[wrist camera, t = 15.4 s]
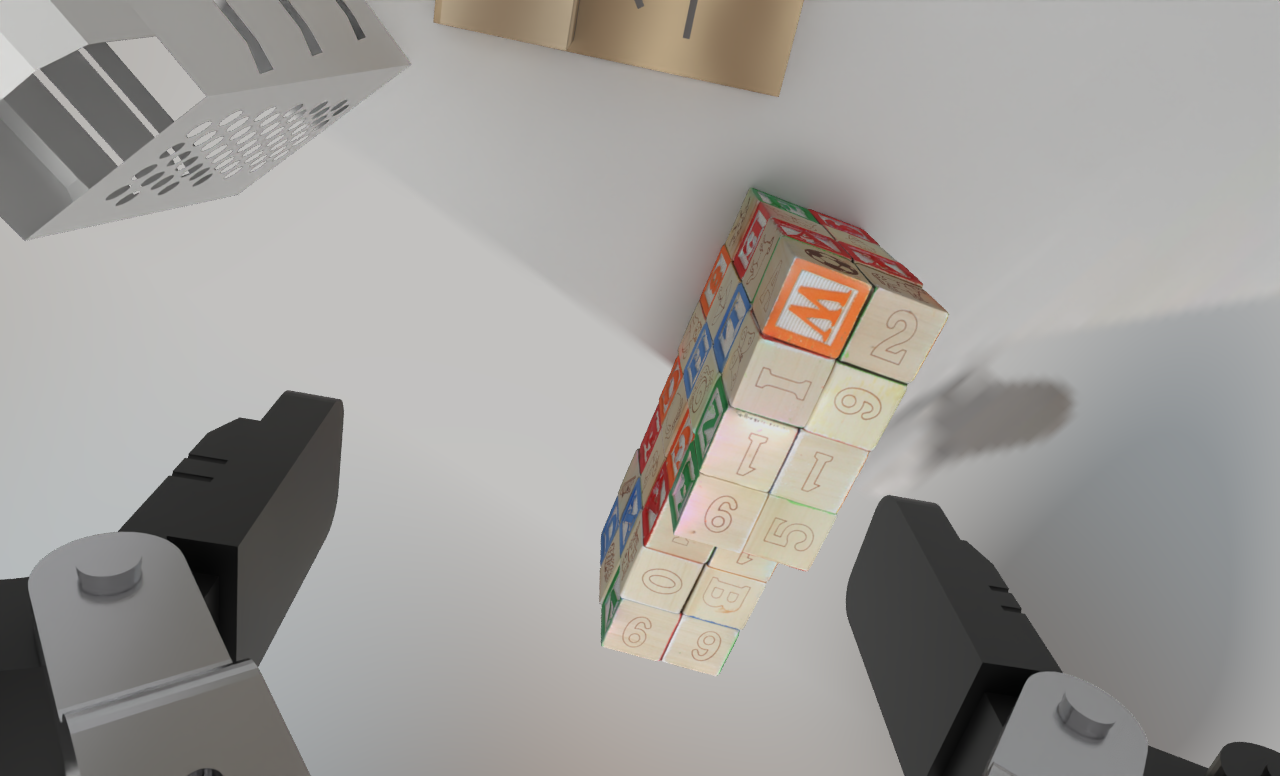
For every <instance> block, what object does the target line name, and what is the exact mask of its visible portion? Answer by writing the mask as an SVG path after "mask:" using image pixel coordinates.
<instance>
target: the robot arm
mask: <svg viewBox="0 0 1280 776" xmlns="http://www.w3.org/2000/svg"><path fill="white" fill-rule="evenodd" d="M343 417H344V409H343V402H342V400H340V399H335V398H329V397H323V396H318V395H312V394H307V393H301V392H295V391H285V392H284V393H283V394H282V395H281V396H280V398H279V399H278V400H277V401H276V403H275V404H274V405H273V406H272V407H271V409H270V410H269V411H268V413H267V414H266V415H265V416H264V417H263V418H262V420H261V421H258V420H252V419H246V418H238V419H236V420H234V421H232V422H230V423H227V424H225V425H223V426H221V427H219V428H217V429H215V430H213V431H211V432H209V433H207V434H206V435H205V437H204V438H203V439H202V440H201V441H200V442H199V443H198V444H197V445H196V446H195V448H194V449H193V450H192V451H191V452H190V453H189V456H188V458H184V460H183V461H182V462H181V463H180V464H179V465H178V466H177V467H176V468H175V469H174V471H173V474H172V476H168V477H167V478H166V479H165V480H164V482H163V483H162V484H161V485H160V486H159V487H158V488H157V489H156V490H155V491H154V493H153V494H152V495H151V496H150V497H149V498H148V499H147V500H146V501H145V502H144V503H143V504H142V506H141V507H140V508H139V509H138V510H137V511H136V512H135V513H134V514H133V516H132V517H131V518H130V519H129V520H128V521H127V522H126V523H125V524H124V525H123V526H122V528H121V529H120V530H119V531H118V532H113V533H104V534H97V535H93V536H89V537H85V538H81V539H79V540H75V541H72V542H70V543H68V544H66V545H63V546H61V547H59V548H57V549H56V550H54V551H52V552H51V553H49V554H48V555H47V556H45V557H44V558H43V559H42V560H41V561H40V562H39V563H38V564H37V565H36V566H35V567H34V569H33V570H32V572H31V574H30V577H25V578H16V579H5V580H0V776H311V775H310V773H309V771H308V769H307V767H306V765H305V763H304V761H303V759H302V757H301V755H300V753H299V750H298V748H297V746H296V744H295V742H294V740H293V738H292V736H291V734H290V732H289V730H288V728H287V726H286V724H285V722H284V719H283V718H282V715H281V713H280V711H279V709H278V707H277V705H276V703H275V701H274V699H273V697H272V695H271V693H270V691H269V688H268V686H267V684H266V682H265V680H264V678H263V676H262V674H261V672H260V670H259V668H258V666H259V664H260V662H261V661H262V659H263V657H264V655H265V653H266V651H267V649H268V647H269V645H270V643H271V642H272V640H273V638H274V636H275V634H276V632H277V630H278V628H279V626H280V625H281V623H282V621H283V619H284V617H285V615H286V613H287V611H288V609H289V607H290V605H291V603H292V602H293V600H294V598H295V596H296V594H297V592H298V590H299V588H300V587H301V585H302V583H303V580H304V579H305V577H306V575H307V573H308V571H309V569H310V568H311V565H312V564H313V562H314V560H315V558H316V556H317V554H318V552H319V550H320V549H321V546H322V545H323V543H324V541H325V539H326V537H327V535H328V532H329V530H330V527H331V524H332V521H333V517H334V513H335V509H336V504H337V497H338V488H339V474H340V460H341V446H342V432H343ZM1008 589H1009V588H1008V587H1007V585H1006V584H1005V582H1004V581H1003V579H1002V578H1001V576H1000V574H999V573H998V571H997V570H996V568H995V567H994V565H993V564H992V563H991V562H990V561H989V560H987V559H986V558H985V557H984V556H983V555H982V554H981V553H979V552H978V551H977V550H976V549H975V548H974V547H973V546H972V545H970V544H969V543H968V542H967V541H964V540H960V538H959V537H958V535H957V534H956V532H955V530H954V529H953V527H952V525H951V524H950V522H949V520H948V519H947V517H946V516H945V514H944V512H943V511H942V509H941V508H940V506H938V505H937V504H936V503H931V502H926V501H920V500H914V499H908V498H902V497H897V496H891V495H887V496H885V497H884V498H882V500H881V501H880V502H879V504H878V506H877V508H876V510H875V513H874V515H873V518H872V520H871V523H870V526H869V528H868V531H867V534H866V536H865V539H864V541H863V544H862V546H861V549H860V552H859V554H858V557H857V560H856V562H855V564H854V567H853V570H852V573H851V575H850V578H849V582H848V586H847V593H846V611H847V617H848V620H849V623H850V626H851V628H852V631H853V634H854V637H855V640H856V642H857V645H858V648H859V651H860V654H861V656H862V659H863V662H864V665H865V667H866V670H867V673H868V676H869V679H870V681H871V684H872V687H873V690H874V692H875V695H876V698H877V701H878V703H879V706H880V709H881V712H882V715H883V717H884V720H885V723H886V726H887V728H888V731H889V734H890V737H891V739H892V742H893V745H894V748H895V751H896V753H897V756H898V759H899V762H900V764H901V767H902V770H903V773H904V775H905V776H1280V753H1278V752H1276V751H1274V750H1272V749H1269V748H1266V747H1263V746H1260V745H1256V744H1252V743H1246V742H1233V743H1230V744H1227V745H1226V746H1224V747H1223V748H1222V750H1221V751H1220V753H1219V754H1218V756H1217V757H1216V759H1215V760H1214V762H1213V763H1212V765H1211V766H1210V767H1209V768H1206V767H1203V766H1200V765H1198V764H1195V763H1193V762H1190V761H1187V760H1185V759H1182V758H1180V757H1177V756H1174V755H1172V754H1168V753H1166V752H1164V751H1161V750H1159V749H1156V748H1153V747H1151V746H1148V742H1147V738H1146V735H1145V733H1144V731H1143V729H1142V727H1141V726H1140V724H1139V723H1138V721H1137V720H1136V719H1135V718H1134V716H1133V715H1132V714H1131V713H1130V712H1129V711H1128V710H1127V709H1126V708H1125V707H1124V706H1123V705H1122V704H1121V703H1119V702H1118V701H1117V700H1116V699H1115V698H1113V697H1112V696H1110V695H1109V694H1108V693H1106V692H1105V691H1103V690H1101V689H1100V688H1098V687H1096V686H1095V685H1092V684H1091V683H1089V682H1087V681H1084V680H1082V679H1079V678H1077V677H1074V676H1071V675H1068V674H1064V673H1062V671H1061V669H1060V668H1059V666H1058V664H1057V663H1056V661H1055V660H1054V658H1053V657H1052V655H1051V654H1050V652H1049V650H1048V649H1047V647H1046V646H1045V644H1044V643H1043V641H1042V640H1041V638H1040V637H1039V635H1038V633H1037V632H1036V631H1035V629H1034V627H1033V626H1032V624H1031V623H1030V621H1029V619H1028V618H1027V616H1026V615H1025V614H1022V613H1021V607H1020V605H1019V604H1018V602H1017V601H1016V599H1015V598H1014V596H1013V595H1012V594H1011V593H1008Z"/></svg>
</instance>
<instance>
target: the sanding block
mask: <svg viewBox="0 0 1280 776" xmlns="http://www.w3.org/2000/svg"><path fill="white" fill-rule="evenodd" d="M579 4H580V0H442V8H441V18H440V24H445V25H449V26H454V27H459V28H463V29H468V30H472V31H477V32H482V33H486V34H491V35H495V36H500V37H505V38H509V39H514V40H518V41H523V42H528V43H532V44H537V45H542V46H546V47H551V48H555V49H560V50H565V51H566V50H567V48H568V47H569V46H570V45H571V43H572V42H573V41H574V35H575V29H576V23H577V17H578V10H579Z"/></svg>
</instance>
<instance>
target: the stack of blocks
mask: <svg viewBox="0 0 1280 776" xmlns="http://www.w3.org/2000/svg"><path fill="white" fill-rule="evenodd" d="M922 287H923V284H922V282H920V281H919V280H918V278H917V277H915V276H914V275H913V274H912V273H911V272H909V270H908V269H907V268H905V267H904V266H903V265H902V264H901V263H899V262H897V261H896V260H895V259H894V258H893V257H891V256H890V255H889V254H888V253H887V252H886V251H885V250H884V249H882V248H881V247H880V245H879V244H878V243H877V242H876V241H875V240H874V239H873V238H872V237H871V236H870V235H869V234H868V233H867V232H866V231H864V230H863V229H861V228H858V227H855V226H853V225H850V224H848V223H845V222H843V221H840V220H837V219H835V218H832V217H829V216H827V215H824V214H821V213H819V212H816V211H814V210H811V209H805V208H803V207H800V206H798V205H795V204H792V203H790V202H787V201H785V200H782V199H780V198H777V197H775V196H772V195H769V194H767V193H764V192H761V191H759V190H757V189H754V188H750V189H749V190H748V193H747V195H746V197H745V199H744V202H743V204H742V206H741V209H740V211H739V213H738V216H737V218H736V220H735V222H734V225H733V227H732V229H731V232H730V234H729V236H728V238H727V241H726V243H725V244H724V245H723V246H722V248H721V251H720V253H719V255H718V258H717V260H716V262H715V264H714V267H713V269H712V271H711V274H710V276H709V279H708V281H707V283H706V286H705V288H704V290H703V292H702V295H701V298H700V300H699V302H698V304H697V306H696V309H695V311H694V313H693V315H692V317H691V320H690V322H689V324H688V327H687V329H686V332H685V334H684V336H683V339H682V341H681V343H680V346H679V348H678V357H677V358H676V360H675V363H674V365H673V368H672V371H671V373H670V375H669V377H668V379H667V382H666V385H665V387H664V389H663V391H662V394H661V396H660V398H659V404H658V406H657V408H656V411H655V413H654V415H653V417H652V420H651V422H650V424H649V427H648V429H647V432H646V434H645V436H644V439H643V441H642V443H641V446H640V449H637V450H636V452H635V454H634V457H633V459H632V461H631V464H630V466H629V468H628V470H627V473H626V475H625V477H624V480H623V482H622V485H621V487H620V490H619V492H618V496H617V498H616V501H615V503H614V505H613V508H612V509H611V512H610V515H609V517H608V519H607V522H606V524H605V526H604V529H603V531H602V534H601V560H600V564H601V568H600V588H599V589H600V595H599V602H600V604H601V605H602V610H601V613H602V614H601V646H603V647H606V648H609V649H613V650H617V651H621V652H624V653H628V654H632V655H635V656H639V657H643V658H646V659H650V660H653V661H660V660H661V661H663V662H665V663H669V664H673V665H676V666H680V667H683V668H687V669H691V670H695V671H698V672H702V673H706V674H710V675H714V676H717V675H718V674H719V673H720V672H721V669H722V667H723V665H724V663H725V661H726V660H727V658H728V656H729V654H730V652H731V650H732V648H733V646H734V644H735V642H736V640H737V638H738V636H739V632H740V630H742V629H743V628H744V627H745V625H746V623H747V621H748V619H749V617H750V615H751V613H752V611H753V610H754V608H755V606H756V604H757V602H758V599H759V598H760V596H761V594H762V592H763V590H764V588H765V586H766V583H767V581H768V580H769V579H770V577H771V576H772V574H773V572H774V570H775V568H776V566H777V564H778V563H781V564H784V565H787V566H790V567H793V568H796V569H799V570H802V571H808V570H809V569H810V567H811V565H812V563H813V561H814V559H815V558H816V556H817V554H818V552H819V550H820V548H821V546H822V544H823V542H824V540H825V538H826V537H827V535H828V533H829V531H830V529H831V527H832V526H833V524H834V522H835V520H836V518H837V512H838V510H839V509H840V507H841V506H842V504H843V502H844V501H845V499H846V497H847V495H848V493H849V491H850V489H851V487H852V485H853V483H854V481H855V479H856V478H857V476H858V474H859V472H860V471H861V469H862V467H863V465H864V463H865V461H866V459H867V456H868V454H869V452H870V451H872V450H874V448H875V446H876V445H877V443H878V441H879V439H880V437H881V436H882V434H883V432H884V430H885V428H886V427H887V425H888V423H889V421H890V419H891V418H892V416H893V414H894V412H895V410H896V408H897V406H898V405H899V403H900V401H901V399H902V397H903V395H904V394H905V392H906V389H907V384H909V383H910V382H912V381H913V380H914V378H915V376H916V374H917V373H918V371H919V369H920V367H921V366H922V364H923V362H924V360H925V359H926V357H927V355H928V353H929V351H930V350H931V348H932V346H933V344H934V343H935V341H936V339H937V337H938V336H939V334H940V332H941V330H942V328H943V327H944V325H945V323H946V321H947V318H948V315H949V314H948V312H947V311H946V310H945V309H944V308H943V307H942V306H941V305H940V304H939V303H938V302H936V301H935V300H934V299H933V298H932V297H931V296H930V295H929V294H928V293H927V292H926V291H924V290H923V289H922Z"/></svg>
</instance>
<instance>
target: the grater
mask: <svg viewBox="0 0 1280 776" xmlns="http://www.w3.org/2000/svg"><path fill="white" fill-rule="evenodd" d="M288 1H289V2H290V3H291V5H292V6H293V7H294V9H295V10H296V11H297V12H298V14H299V15H300V16H301V18H302V19H303V20H304V22H305V23H306V24H307V26H308V27H309V29H310V30H311V32H312V34H313V36H314V38H315V39H316V41H317V43H318V45H319V47H320V48H321V50H322V53H319V54H316V55H314V56H312V54H311V52H310V50H309V47H308V45H307V43H306V40H305V38H304V36H303V33H302V31H301V29H300V27H299V26H298V25H297V24H296V22H295V21H294V20H293V18H292V17H291V16H290V14H289V13H288V12H287V10H286V9H285V8H284V7H283V5H282V4H281V3H280V1H279V0H226V2H227V3H228V4H229V5H230V7H231V8H232V9H233V10H234V12H235V13H236V14H237V15H238V17H239V18H240V19H241V20H242V22H243V23H244V24H245V26H246V27H247V28H248V29H249V31H250V32H251V33H252V34H253V36H254V37H255V38H256V39H257V41H258V43H259V44H260V46H261V48H262V50H263V51H264V53H265V55H266V57H267V59H268V60H269V62H270V64H271V66H272V68H273V70H270V71H267V72H264V73H261V74H260V73H259V70H258V68H257V66H256V63H255V61H254V58H253V56H252V53H251V51H250V48H249V46H248V44H247V42H246V41H245V40H244V38H243V37H242V36H241V35H240V33H239V32H238V31H237V30H236V28H235V27H234V26H233V25H232V23H231V22H230V21H229V20H228V18H227V17H226V16H225V15H224V13H223V12H222V11H221V10H220V8H219V7H218V6H217V5H216V3H215V2H214V1H213V0H0V217H1V218H2V219H3V220H4V221H5V222H6V223H7V224H9V226H10V227H11V228H12V229H13V230H14V231H15V232H16V233H17V234H18V235H19V236H20V237H22V239H23V240H24V241H26V240H30V239H35V238H39V237H44V236H49V235H54V234H58V233H63V232H68V231H72V230H77V229H81V228H86V227H91V226H95V225H100V224H105V223H109V222H114V221H119V220H123V219H128V218H132V217H137V216H142V215H146V214H151V213H156V212H160V211H165V210H170V209H174V208H179V207H183V206H188V205H193V204H198V203H202V202H207V201H212V200H216V199H220V198H225V197H230V196H235V195H238V194H239V193H241V192H242V191H243V190H245V189H246V188H247V187H249V186H250V185H251V184H253V183H254V182H255V181H257V180H258V179H259V178H261V177H262V176H263V175H265V174H266V173H267V172H269V171H270V170H271V169H273V168H274V167H275V166H276V165H278V164H279V163H281V162H282V161H283V160H285V159H286V158H287V157H289V156H290V155H291V154H293V153H294V152H295V151H297V150H298V149H299V148H301V147H302V146H303V145H305V144H306V143H307V142H309V141H310V140H311V139H313V138H314V137H315V136H317V135H318V134H319V133H321V132H322V131H323V130H325V129H326V128H327V127H329V126H330V125H331V124H333V123H334V122H335V121H337V120H338V119H339V118H341V117H342V116H343V115H345V114H346V113H347V112H349V111H350V110H351V109H353V108H354V107H355V106H357V105H358V104H359V103H361V102H362V101H363V100H365V99H366V98H367V97H369V96H370V95H371V94H373V93H374V92H375V91H377V90H378V89H379V88H381V87H382V86H383V85H385V84H386V83H387V82H389V81H390V80H391V79H393V78H394V77H395V76H397V75H398V74H399V73H401V72H402V71H403V70H405V69H406V68H407V67H409V66H410V65H411V63H410V61H409V60H408V59H407V57H406V56H405V54H404V53H403V52H402V50H401V49H400V48H399V46H398V45H397V43H396V42H395V41H394V39H393V38H392V37H391V35H390V34H389V32H388V31H387V30H386V28H385V27H384V26H383V24H382V23H381V21H380V20H379V19H378V17H377V16H376V14H375V13H374V12H373V10H372V9H371V8H370V6H369V5H368V3H367V2H366V1H365V0H343V1H344V3H345V4H346V5H347V7H348V8H349V9H350V11H351V12H352V14H353V15H354V17H355V18H356V20H357V22H358V24H359V26H360V27H361V29H362V31H363V33H364V35H365V36H366V38H363V39H360V40H358V39H357V37H356V35H355V33H354V30H353V28H352V26H351V24H350V21H349V19H348V17H347V15H346V14H345V13H344V11H343V10H342V9H341V7H340V6H339V4H338V3H337V2H336V0H288ZM153 36H156V37H157V38H158V39H159V40H160V41H161V43H162V44H163V45H164V46H165V47H166V48H167V49H168V51H169V52H170V53H171V54H172V56H173V57H174V58H175V59H176V60H177V62H178V63H179V64H180V65H181V66H182V67H183V69H184V70H185V71H186V72H187V74H188V75H189V76H190V77H191V78H192V79H193V81H194V82H195V83H196V84H197V85H198V87H199V88H200V89H201V90H202V91H203V93H204V94H205V95H206V96H207V97H205V98H204V99H203V100H202V101H200V102H199V103H198V104H197V105H195V106H194V107H193V108H191V109H190V110H189V111H188V112H186V113H185V114H184V115H183V116H181V117H180V118H179V119H178V120H176V121H175V122H174V121H173V120H172V118H171V117H170V116H169V115H168V114H167V113H166V112H165V111H164V109H162V107H161V106H160V105H159V103H158V102H157V101H156V100H155V99H154V98H153V97H152V96H151V94H150V93H149V92H148V91H147V90H146V88H144V86H143V85H142V84H141V83H140V81H139V80H138V79H137V78H136V77H135V76H134V75H133V73H132V72H131V71H130V70H129V69H128V68H127V66H126V65H125V64H124V63H123V62H122V61H121V60H120V58H119V57H118V56H117V55H116V54H115V53H114V51H113V50H112V49H111V48H110V47H109V46H108V44H107V43H106V42H111V41H120V40H127V39H137V38H145V37H153ZM82 47H83V48H84V49H86V50H87V51H88V53H89V54H90V55H91V56H92V57H93V58H94V59H95V61H96V62H97V63H98V64H99V65H100V66H101V67H102V69H103V70H104V71H105V72H106V73H107V74H108V75H109V77H110V78H111V79H112V80H113V81H114V82H115V83H116V84H117V85H118V87H119V88H120V89H121V90H122V91H123V92H124V94H125V95H126V96H127V97H128V98H129V99H130V101H131V102H132V103H133V104H134V105H135V106H136V107H137V108H138V110H139V111H140V112H141V113H142V114H143V115H144V116H145V118H146V119H147V120H148V121H149V122H150V123H151V124H152V126H153V127H154V128H155V129H156V130H157V131H158V132H159V135H157V136H156V137H154V136H153V135H152V134H151V133H150V132H149V130H148V129H147V128H146V127H145V126H144V125H143V124H142V122H141V121H140V120H139V119H138V118H137V117H136V116H135V114H134V113H133V112H132V111H131V110H130V109H129V108H128V107H127V105H126V104H125V103H124V102H123V101H122V100H121V99H120V98H119V96H118V95H117V94H116V93H115V92H114V91H113V90H112V88H111V87H110V86H109V85H108V84H107V83H106V82H105V81H104V79H103V78H102V77H101V76H100V75H99V74H98V73H97V71H96V70H95V69H94V68H93V67H92V66H91V65H90V64H89V62H88V61H87V60H86V59H85V58H84V57H83V56H82V54H81V53H80V52H79V51H78V50H79V49H80V48H82ZM38 69H41V71H42V72H43V73H44V74H45V75H46V76H47V77H48V78H49V79H50V81H51V82H52V83H53V84H54V85H55V86H56V87H57V88H58V89H59V90H60V91H61V93H62V94H63V95H64V96H65V97H66V98H67V99H68V100H69V101H70V103H71V104H72V105H73V106H74V107H75V108H76V109H77V110H78V111H79V112H80V114H81V115H82V116H83V117H84V118H85V119H86V120H87V121H88V122H89V123H90V124H91V126H92V127H93V128H94V129H95V130H96V131H97V132H98V133H99V134H100V136H101V137H102V138H103V139H104V140H105V141H106V142H107V143H108V144H109V145H110V146H111V148H112V149H113V150H114V151H115V152H116V153H117V154H118V155H119V157H120V158H121V159H122V160H123V161H124V162H123V163H122V164H121V165H120V166H117V165H116V164H115V163H114V162H113V160H112V159H111V158H110V157H109V156H108V155H107V154H106V153H105V152H104V151H103V150H102V148H101V147H100V146H99V145H98V144H97V143H96V142H95V141H94V140H93V139H92V137H90V135H89V134H88V133H87V132H86V131H85V130H84V129H83V128H82V127H81V125H80V124H79V123H78V122H77V121H76V120H75V119H74V118H73V117H72V115H71V114H70V113H69V112H68V111H67V110H66V109H65V108H64V107H63V106H62V105H61V103H60V102H59V101H58V100H57V99H56V98H55V97H54V96H53V95H52V94H51V93H50V91H49V90H48V89H47V88H46V87H45V86H44V85H43V84H42V83H41V82H40V80H39V79H38V78H37V77H36V76H35V75H34V74H33V72H34V71H36V70H38ZM344 100H347V102H346V103H345V104H343V105H342V106H341V107H339V108H337V109H336V110H334V111H331V109H332V108H333V107H335V106H336V105H337V104H339V103H340V102H342V101H344ZM324 102H328V103H327V104H326V105H325V106H324V107H323V108H321V109H320V110H318V111H316V112H315V113H312V114H309V113H310V112H311V111H312V110H313V109H314V108H316V107H317V106H318V105H320V104H322V103H324ZM300 104H303V106H302V107H301V108H300V109H299V110H298V111H296V112H295V113H293V114H292V115H290V116H288V117H285V118H284V117H283V116H284V115H285V114H286V113H287V112H288V111H290V110H291V109H292V108H294V107H296V106H298V105H300ZM346 105H349V106H348V107H347V108H346V109H345V110H343V111H342V112H341V113H339V114H337V115H335V116H332V115H333V114H334V113H335V112H336V111H338V110H339V109H341V108H342V107H344V106H346ZM272 107H276V109H275V110H274V111H273V112H272V113H271V114H270V115H268V116H266V117H265V118H263V119H261V120H259V121H256V122H255V121H254V120H255V118H256V117H257V116H259V115H260V114H261V113H263V112H264V111H266V110H268V109H270V108H272ZM327 107H330V108H329V110H327V111H326V112H325V113H324V114H322V115H321V116H319V117H317V118H315V119H312V118H313V117H314V116H315V115H316V114H317V113H319V112H320V111H321V110H323V109H325V108H327ZM240 110H242V111H243V112H242V114H241V115H240V116H239V117H237V118H236V119H234V120H233V121H232V122H230V123H228V124H226V125H223V126H219V124H220V122H221V121H222V120H224V119H225V118H226V117H227V116H229V115H231V114H233V113H235V112H237V111H240ZM303 110H306V112H305V113H304V114H303V115H302V116H300V117H299V118H297V119H296V120H294V121H292V122H289V123H287V121H288V120H289V119H290V118H291V117H293V116H294V115H296V114H297V113H299V112H301V111H303ZM277 113H281V114H280V115H279V116H278V117H277V118H276V119H275V120H273V121H272V122H271V123H269V124H267V125H265V126H262V127H259V126H260V124H261V123H262V122H264V121H265V120H266V119H268V118H269V117H271V116H273V115H274V114H277ZM325 115H327V117H326V118H325V119H323V120H322V121H321V122H319V123H318V124H316V125H314V126H312V127H310V125H311V124H312V123H313V122H315V121H316V120H317V119H319V118H321V117H323V116H325ZM245 117H249V119H248V120H247V121H246V122H245V123H244V124H242V125H241V126H239V127H238V128H236V129H234V130H232V131H229V132H226V130H227V129H228V127H230V126H231V125H232V124H233V123H235V122H236V121H238V120H240V119H242V118H245ZM304 118H306V120H305V121H304V122H303V123H302V124H300V125H299V126H297V127H296V128H294V129H292V130H288V129H289V127H291V126H292V125H293V124H294V123H296V122H298V121H299V120H301V119H304ZM326 120H329V121H328V122H327V123H326V124H325V125H324V126H322V127H321V128H319V129H317V130H315V131H312V130H313V129H314V128H315V127H316V126H318V125H319V124H321V123H322V122H324V121H326ZM209 121H211V122H212V123H211V125H210V126H209V127H208V128H206V129H205V130H204V131H202V132H201V133H199V134H197V135H195V136H193V137H189V138H188V137H187V134H188V133H189V132H190V131H191V130H193V129H194V128H196V127H197V126H199V125H201V124H203V123H205V122H209ZM276 122H280V124H279V125H278V126H277V127H275V128H274V129H273V130H271V131H270V132H268V133H266V134H263V135H260V134H261V132H262V131H263V130H265V129H266V128H267V127H269V126H270V125H272V124H274V123H276ZM306 123H309V124H308V126H306V127H305V128H304V129H302V130H301V131H299V132H298V133H296V134H294V135H291V134H292V132H294V131H295V130H296V129H297V128H299V127H300V126H302V125H304V124H306ZM248 126H252V127H251V129H249V130H248V131H247V132H246V133H245V134H243V135H242V136H240V137H238V138H236V139H233V140H230V138H231V137H232V136H233V135H234V134H235V133H237V132H238V131H240V130H241V129H243V128H245V127H248ZM281 127H284V128H283V130H282V131H281V132H279V133H278V134H276V135H275V136H273V137H271V138H269V139H267V140H265V138H266V137H267V136H268V135H269V134H270V133H272V132H273V131H275V130H276V129H278V128H281ZM305 130H307V132H306V133H305V134H304V135H302V136H301V137H300V138H298V139H296V140H294V141H292V142H290V140H291V139H292V138H293V137H294V136H296V135H298V134H299V133H301V132H303V131H305ZM212 131H217V132H216V134H215V135H214V136H213V137H212V138H210V139H209V140H207V141H206V142H204V143H202V144H200V145H198V146H195V145H194V144H193V143H194V142H196V141H197V140H198V139H199V138H201V137H202V136H204V135H206V134H208V133H210V132H212ZM254 131H257V133H256V134H255V135H254V136H253V137H252V138H250V139H248V140H247V141H245V142H243V143H242V144H239V145H236V143H237V142H238V141H239V140H240V139H241V138H243V137H244V136H246V135H247V134H249V133H251V132H254ZM283 134H285V136H284V137H283V138H282V139H280V140H279V141H277V142H276V143H274V144H273V145H271V146H268V147H267V144H268V143H269V142H271V141H272V140H273V139H275V138H277V137H278V136H280V135H283ZM307 135H309V136H308V137H307V138H306V139H305V140H304V141H302V142H301V143H299V144H298V145H295V146H292V145H293V144H294V143H295V142H296V141H298V140H299V139H301V138H303V137H304V136H307ZM221 136H223V137H224V138H223V140H222V141H220V142H219V143H218V144H216V145H215V146H213V147H212V148H210V149H208V150H205V151H201V149H202V148H203V147H204V146H205V145H206V144H208V143H209V142H211V141H212V140H214V139H216V138H218V137H221ZM255 139H258V140H257V142H255V143H254V144H253V145H252V146H250V147H249V148H248V149H246V150H244V151H241V152H237V151H238V150H239V149H240V148H241V147H242V146H244V145H245V144H247V143H248V142H250V141H252V140H255ZM285 139H288V140H287V141H286V142H285V143H284V144H283V145H282V146H280V147H278V148H276V149H275V150H272V151H270V149H271V148H272V147H274V146H275V145H276V144H278V143H279V142H281V141H283V140H285ZM225 144H227V147H226V148H225V149H224V150H223V151H221V152H220V153H218V154H217V155H215V156H213V157H211V158H208V159H206V156H207V155H208V154H209V153H211V152H212V151H213V150H215V149H217V148H218V147H220V146H223V145H225ZM259 144H262V145H261V146H260V147H259V148H258V149H257V150H255V151H254V152H253V153H251V154H249V155H247V156H245V157H242V156H243V154H244V153H245V152H247V151H248V150H250V149H251V148H253V147H255V146H256V145H259ZM284 146H286V148H285V149H284V150H282V151H281V152H280V153H278V154H276V155H275V156H273V157H269V156H270V155H271V154H272V153H274V152H275V151H276V150H278V149H280V148H281V147H284ZM171 147H172V148H173V149H174V151H175V153H174V154H172V155H170V154H169V153H168V152H167V151H166V150H168V149H169V148H171ZM229 150H233V151H232V152H231V153H230V154H229V155H228V156H227V157H225V158H224V159H222V160H220V161H218V162H216V163H212V161H213V160H214V159H215V158H217V157H218V156H219V155H221V154H223V153H224V152H226V151H229ZM286 150H289V152H287V153H286V154H285V155H284V156H282V157H281V158H279V159H277V160H275V161H273V159H274V158H275V157H277V156H278V155H279V154H281V153H283V152H284V151H286ZM260 151H263V152H262V154H260V155H259V156H258V157H257V158H255V159H253V160H252V161H250V162H247V163H245V161H246V160H247V159H248V158H250V157H251V156H252V155H254V154H256V153H258V152H260ZM264 155H267V156H266V157H265V158H264V159H263V160H261V161H260V162H259V163H257V164H255V165H253V166H250V164H251V163H253V162H254V161H255V160H257V159H258V158H260V157H262V156H264ZM177 156H179V157H180V159H181V161H180V162H178V163H176V164H175V163H174V161H173V159H174V158H175V157H177ZM231 157H234V159H233V160H232V161H231V162H230V163H228V164H227V165H225V166H223V167H222V168H220V169H217V170H216V169H215V167H217V166H218V165H219V164H220V163H222V162H223V161H225V160H227V159H229V158H231ZM236 161H240V162H239V163H238V164H237V165H236V166H234V167H233V168H232V169H230V170H228V171H226V172H224V173H221V171H222V170H223V169H224V168H226V167H227V166H229V165H230V164H232V163H234V162H236ZM264 161H267V162H266V163H265V164H264V165H263V166H261V167H260V168H258V169H257V170H255V171H252V172H250V170H251V169H252V168H254V167H255V166H256V165H258V164H260V163H262V162H264ZM182 163H184V165H185V168H184V169H182V170H179V171H178V169H177V167H178V166H179V165H181V164H182ZM239 167H242V169H241V170H240V171H239V172H237V173H235V174H234V175H232V176H230V177H228V178H226V179H224V177H225V176H226V175H227V174H229V173H230V172H231V171H233V170H235V169H237V168H239ZM186 171H189V174H187V175H184V176H182V174H184V173H185V172H186ZM133 176H135V177H136V178H137V179H136V180H132V177H133ZM129 185H131V187H130V186H129ZM140 186H142V187H140ZM136 191H140V193H137V194H135V195H134V194H133V192H136Z"/></svg>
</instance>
